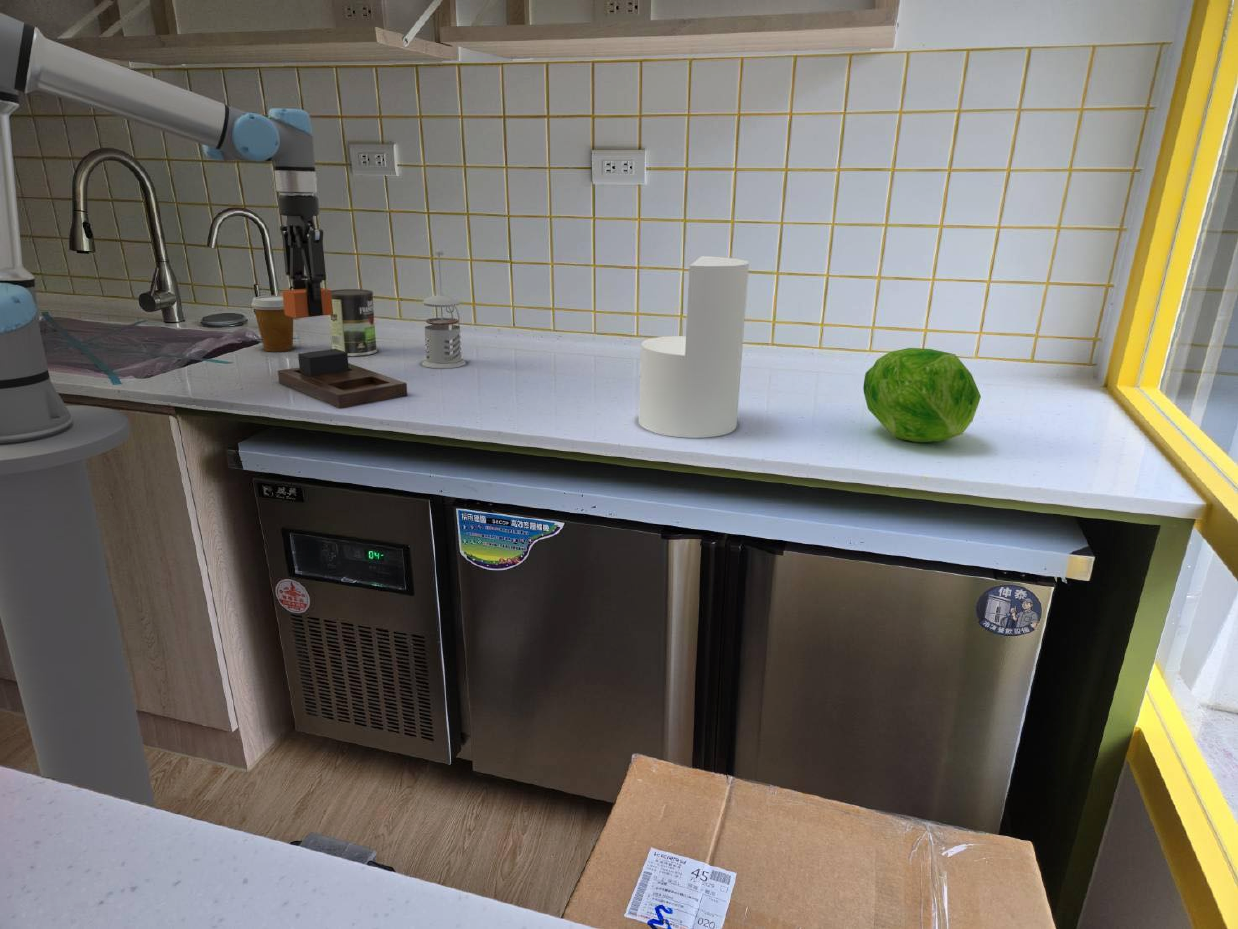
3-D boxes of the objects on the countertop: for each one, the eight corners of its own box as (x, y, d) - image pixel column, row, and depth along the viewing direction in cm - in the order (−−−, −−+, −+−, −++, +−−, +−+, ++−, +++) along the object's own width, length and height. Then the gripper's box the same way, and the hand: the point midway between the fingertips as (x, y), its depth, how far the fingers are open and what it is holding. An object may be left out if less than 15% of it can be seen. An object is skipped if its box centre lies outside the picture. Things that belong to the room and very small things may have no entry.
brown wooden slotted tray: (339, 408, 148) (338, 394, 147) (278, 382, 164) (277, 370, 164) (407, 395, 157) (406, 382, 157) (343, 372, 174) (342, 361, 173)
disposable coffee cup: (300, 344, 200) (295, 294, 196) (299, 352, 192) (293, 300, 188) (258, 345, 197) (252, 295, 193) (255, 353, 189) (248, 301, 185)
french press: (413, 366, 181) (406, 249, 173) (438, 356, 192) (432, 245, 183) (454, 369, 179) (449, 252, 170) (476, 359, 189) (473, 247, 181)
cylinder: (739, 414, 151) (751, 258, 142) (732, 441, 135) (745, 268, 126) (647, 406, 154) (653, 253, 145) (629, 432, 138) (635, 263, 129)
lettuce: (1000, 439, 139) (968, 354, 145) (981, 405, 122) (944, 311, 128) (902, 473, 146) (874, 391, 152) (870, 445, 130) (841, 354, 136)
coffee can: (384, 349, 197) (380, 289, 193) (364, 357, 188) (359, 295, 183) (344, 346, 199) (339, 287, 194) (323, 355, 189) (317, 293, 185)
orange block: (296, 318, 164) (293, 293, 162) (284, 315, 167) (282, 290, 166) (333, 314, 170) (331, 290, 168) (321, 311, 173) (319, 287, 171)
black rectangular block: (312, 382, 161) (309, 357, 159) (300, 378, 164) (297, 353, 162) (349, 376, 166) (347, 352, 165) (337, 372, 170) (335, 348, 168)
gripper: (338, 196, 157) (348, 317, 165) (294, 193, 169) (305, 306, 177) (301, 196, 152) (313, 321, 160) (258, 192, 164) (271, 309, 172)
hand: (309, 313), depth 168 cm, fingers closed on orange block, 5 cm apart
